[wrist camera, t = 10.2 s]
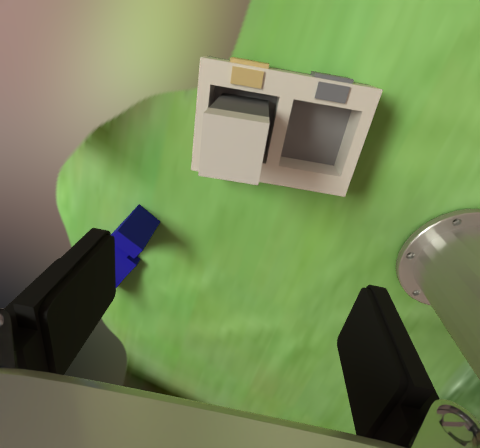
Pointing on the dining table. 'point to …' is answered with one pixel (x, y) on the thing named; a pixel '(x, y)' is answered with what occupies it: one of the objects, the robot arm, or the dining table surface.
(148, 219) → the blue notched block
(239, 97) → the plug
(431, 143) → the dining table surface
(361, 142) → the socket strip
